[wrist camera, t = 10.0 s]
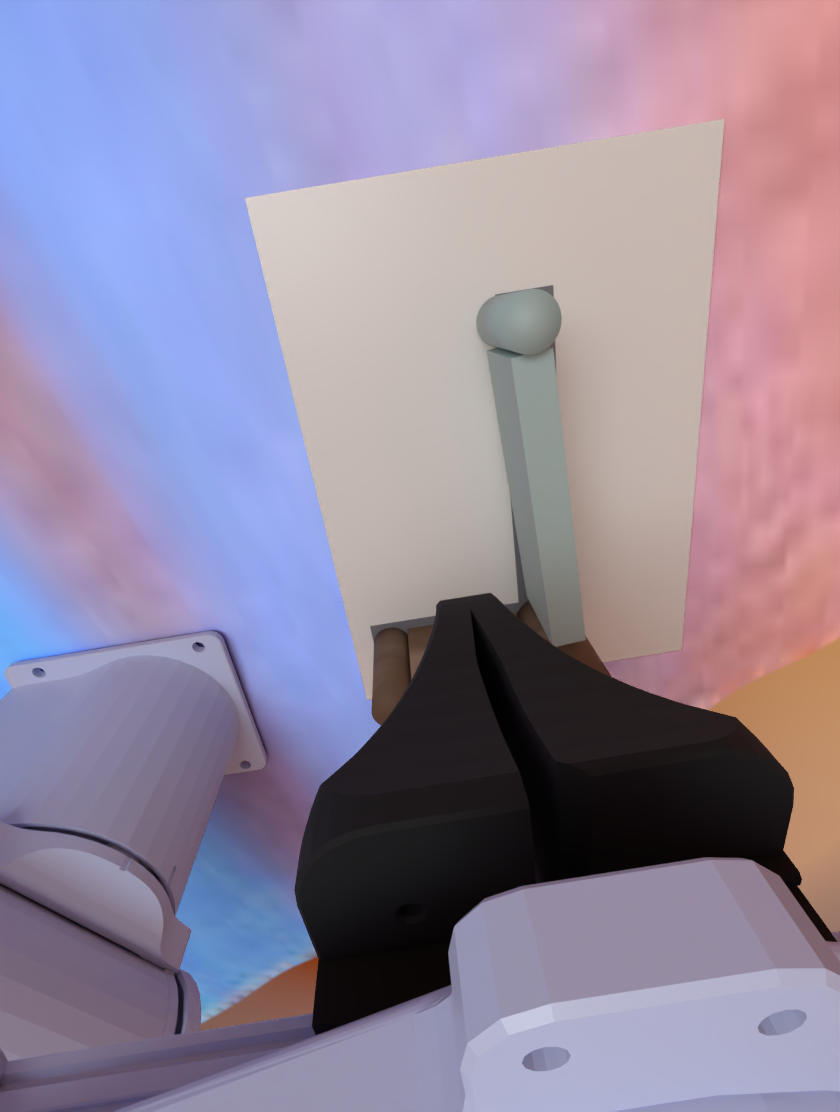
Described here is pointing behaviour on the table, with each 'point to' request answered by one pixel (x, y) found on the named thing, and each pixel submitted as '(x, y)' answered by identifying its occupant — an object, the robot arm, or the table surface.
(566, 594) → the fence panel
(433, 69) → the table surface
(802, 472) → the table surface
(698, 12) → the table surface
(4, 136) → the table surface
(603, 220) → the card
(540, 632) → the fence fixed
